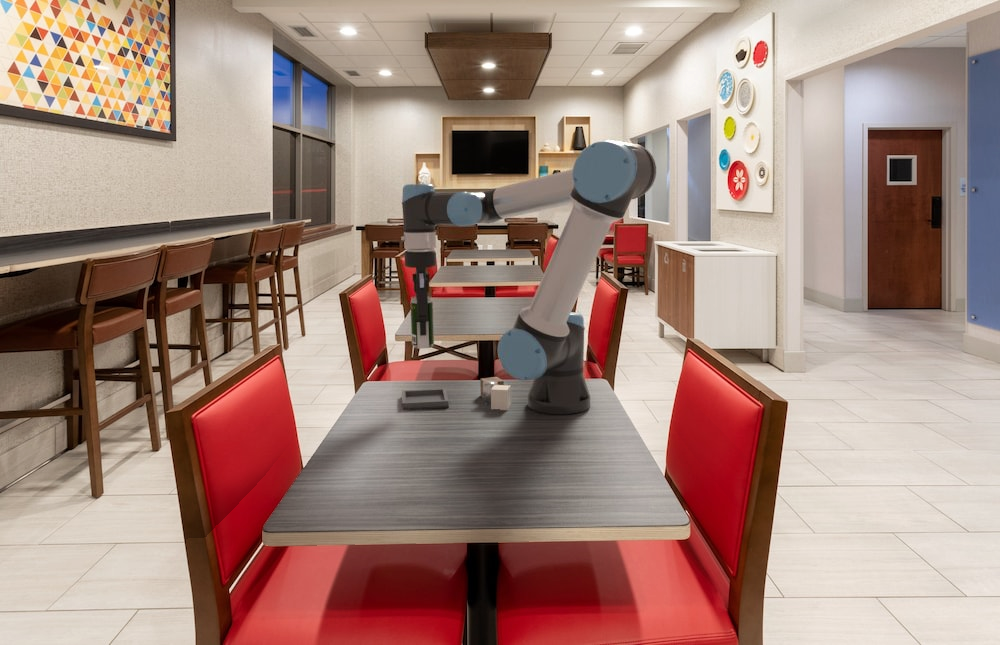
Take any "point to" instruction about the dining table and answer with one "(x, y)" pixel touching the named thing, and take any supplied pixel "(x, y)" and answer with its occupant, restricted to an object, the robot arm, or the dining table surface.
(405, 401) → the tray
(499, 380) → the walnut block
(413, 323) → the green soda can
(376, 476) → the dining table surface
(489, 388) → the grey metal cylinder
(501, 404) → the cream block
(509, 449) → the dining table surface
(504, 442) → the dining table surface
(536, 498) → the dining table surface
